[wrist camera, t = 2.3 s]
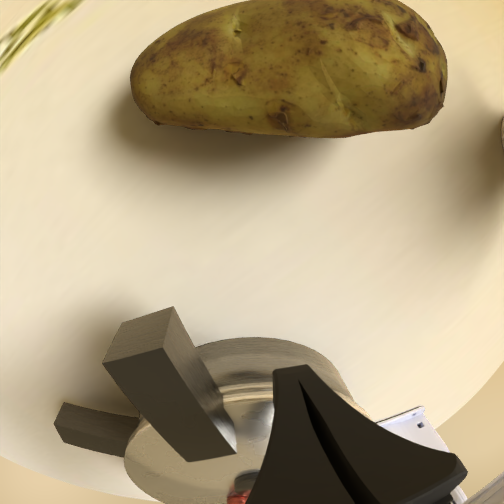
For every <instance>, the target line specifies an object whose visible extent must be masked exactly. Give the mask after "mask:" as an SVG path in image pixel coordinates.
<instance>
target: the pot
mask: <svg viewBox="0 0 504 504" xmlns="http://www.w3.org/2000/svg"><path fill="white" fill-rule="evenodd" d="M196 350H197V352H198V354H199V356H200V357H201V359H202V361H203V363H204V364H205V366H206V368H207V370H208V371H209V373H210V375H211V376H212V378H213V380H214V382H215V383H216V385H217V387H218V388H219V390H220V392H221V393H222V395H231V394H238V393H245V392H259V391H273V380H272V372H273V371H274V370H275V369H279V368H286V367H292V366H298V365H304V364H308V365H309V366H310V367H311V368H312V369H313V370H314V371H315V372H316V374H317V375H318V376H319V377H320V378H321V379H322V380H323V381H324V382H325V383H326V384H327V385H328V386H329V387H330V388H331V389H332V390H333V391H335V392H336V393H337V394H338V395H339V396H340V397H341V398H344V399H346V400H349V401H351V402H354V400H353V398H352V396H351V394H350V392H349V391H348V389H347V387H346V385H345V383H344V382H343V380H342V378H341V376H340V374H339V373H338V371H337V369H336V368H335V367H334V365H333V364H332V363H331V362H330V361H329V360H328V359H327V358H325V357H324V356H323V355H321V354H320V353H318V352H316V351H315V350H313V349H311V348H308V347H306V346H304V345H301V344H297V343H294V342H291V341H286V340H280V339H275V338H261V337H252V338H236V339H227V340H222V341H217V342H212V343H208V344H205V345H202V346H199V347H196ZM354 403H355V402H354ZM355 404H357V403H355ZM146 421H147V420H146V419H145V418H144V417H143V415H142V414H141V413H140V416H139V418H134V417H128V416H122V415H117V414H111V413H106V412H102V411H97V410H92V409H88V408H84V407H80V406H76V405H72V404H68V403H65V402H64V403H63V405H62V407H61V409H60V411H59V413H58V415H57V418H56V420H55V422H54V425H55V427H56V429H57V431H58V433H59V435H60V436H61V438H62V440H63V442H65V443H68V444H71V445H74V446H78V447H81V448H85V449H89V450H93V451H97V452H101V453H105V454H110V455H114V456H119V457H124V456H125V451H126V447H127V442H128V440H129V439H130V437H131V435H132V434H133V432H134V431H135V430H136V429H137V428H138V427H139V426H140V425H142V424H143V423H144V422H146Z"/></svg>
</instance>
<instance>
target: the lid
mask: <svg viewBox="0 0 504 504" xmlns="http://www.w3.org/2000/svg"><path fill="white" fill-rule="evenodd" d="M102 364H103V365H104V367H105V368H106V370H107V371H108V372H109V374H110V375H111V376H112V378H113V379H114V380H115V382H116V383H117V384H118V386H119V387H120V388H121V390H122V391H123V392H124V393H125V395H126V396H127V397H128V399H129V400H130V401H131V402H132V403H133V405H134V406H135V407H136V408H137V409H138V411H139V412H140V413H141V414H142V415H143V417H144V418H145V419H146V420H147V421H146V422H144V423H143V424H142V425H140V426H139V427H138V428H137V429H136V430H135V431H134V432H133V434H132V435H131V437H130V439H129V440H128V442H127V447H126V451H125V456H124V465H125V469H126V471H127V474H128V475H129V477H130V478H131V480H132V481H133V482H134V483H135V484H136V485H137V486H138V487H139V488H140V489H141V490H143V491H144V492H145V493H146V494H148V495H150V496H151V497H153V498H155V499H157V500H159V501H161V502H163V503H165V504H245V502H246V501H247V499H248V497H249V494H250V492H251V490H252V488H253V485H254V483H255V481H256V478H257V476H258V473H259V471H260V468H261V465H262V462H263V459H264V456H265V453H266V449H267V446H268V442H269V438H270V433H271V428H272V422H273V416H274V405H273V391H259V392H245V393H238V394H231V395H222V393H221V392H220V390H219V388H218V387H217V385H216V383H215V382H214V380H213V378H212V376H211V375H210V373H209V371H208V370H207V368H206V366H205V364H204V363H203V361H202V359H201V357H200V356H199V354H198V352H197V350H196V348H195V346H194V345H193V343H192V341H191V339H190V337H189V335H188V334H187V332H186V330H185V328H184V326H183V324H182V322H181V320H180V318H179V316H178V314H177V312H176V310H175V308H174V306H172V307H169V308H166V309H163V310H160V311H157V312H154V313H151V314H148V315H145V316H142V317H139V318H136V319H133V320H130V321H126V322H123V323H122V324H121V326H120V328H119V330H118V332H117V334H116V336H115V338H114V340H113V342H112V344H111V346H110V348H109V350H108V352H107V354H106V356H105V358H104V360H103V362H102ZM342 399H343V400H345V401H346V402H347V403H348V404H349V405H351V406H352V407H353V408H355V409H356V410H357V411H358V412H360V413H361V414H363V415H364V416H365V417H367V418H368V419H370V420H371V421H372V419H371V418H370V416H369V415H368V413H367V412H366V411H365V410H364V409H363V408H361V407H360V406H358V405H357V404H355V403H354V402H351V401H349V400H346V399H344V398H342Z"/></svg>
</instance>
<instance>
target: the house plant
mask: <svg viewBox="0 0 504 504" xmlns="http://www.w3.org/2000/svg"><path fill="white" fill-rule="evenodd" d="M501 137H502V144H503V149H504V118H503V121H502V128H501Z"/></svg>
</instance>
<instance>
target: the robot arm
mask: <svg viewBox="0 0 504 504" xmlns="http://www.w3.org/2000/svg"><path fill="white" fill-rule="evenodd" d="M272 380H273V405H274V416H273V422H272V428H271V433H270V438H269V442H268V446H267V449H266V453H265V456H264V459H263V462H262V465H261V468H260V471H259V473H258V476H257V478H256V481H255V483H254V485H253V488H252V490H251V492H250V494H249V497H248V499H247V501H246V502H245V504H504V472H502V473H501V474H500V475H499V476H498V477H496V478H495V479H494V480H493V481H491V482H490V483H489V484H488V485H487V486H485V487H484V488H483V489H481V490H480V491H479V492H477V493H476V494H474V495H473V496H472V497H470V498H469V499H467V497H466V495H465V494H464V492H463V491H462V489H461V488H460V486H459V484H460V483H461V482H462V481H463V480H464V479H465V477H466V476H467V473H468V471H467V470H466V468H465V467H464V465H463V464H462V462H461V461H460V459H459V458H458V457H457V456H456V455H455V454H453V453H450V452H449V450H448V447H447V446H446V444H445V443H444V441H443V440H442V439H441V437H440V436H439V434H438V433H437V432H436V430H435V429H434V427H433V426H432V425H431V423H430V422H429V421H428V419H427V418H426V416H425V415H424V414H423V413H424V411H425V407H424V406H421V407H419V408H416V409H414V410H411V411H409V412H406V413H404V414H401V415H399V416H396V417H393V418H390V419H388V420H385V421H382V422H379V423H375V422H373V421H371V420H370V419H368V418H367V417H365V416H364V415H363V414H361V413H360V412H358V411H357V410H356V409H355V408H353V407H352V406H351V405H349V404H348V403H347V402H346V401H345V400H343V399H342V398H341V397H340V396H339V395H338V394H337V393H336V392H335V391H333V390H332V389H331V388H330V387H329V386H328V385H327V384H326V383H325V382H324V381H323V380H322V379H321V378H320V377H319V376H318V375H317V374H316V372H315V371H314V370H313V369H312V368H311V367H310V366H309V365H308V364H304V365H298V366H292V367H286V368H279V369H275V370H274V371H273V372H272Z"/></svg>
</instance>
